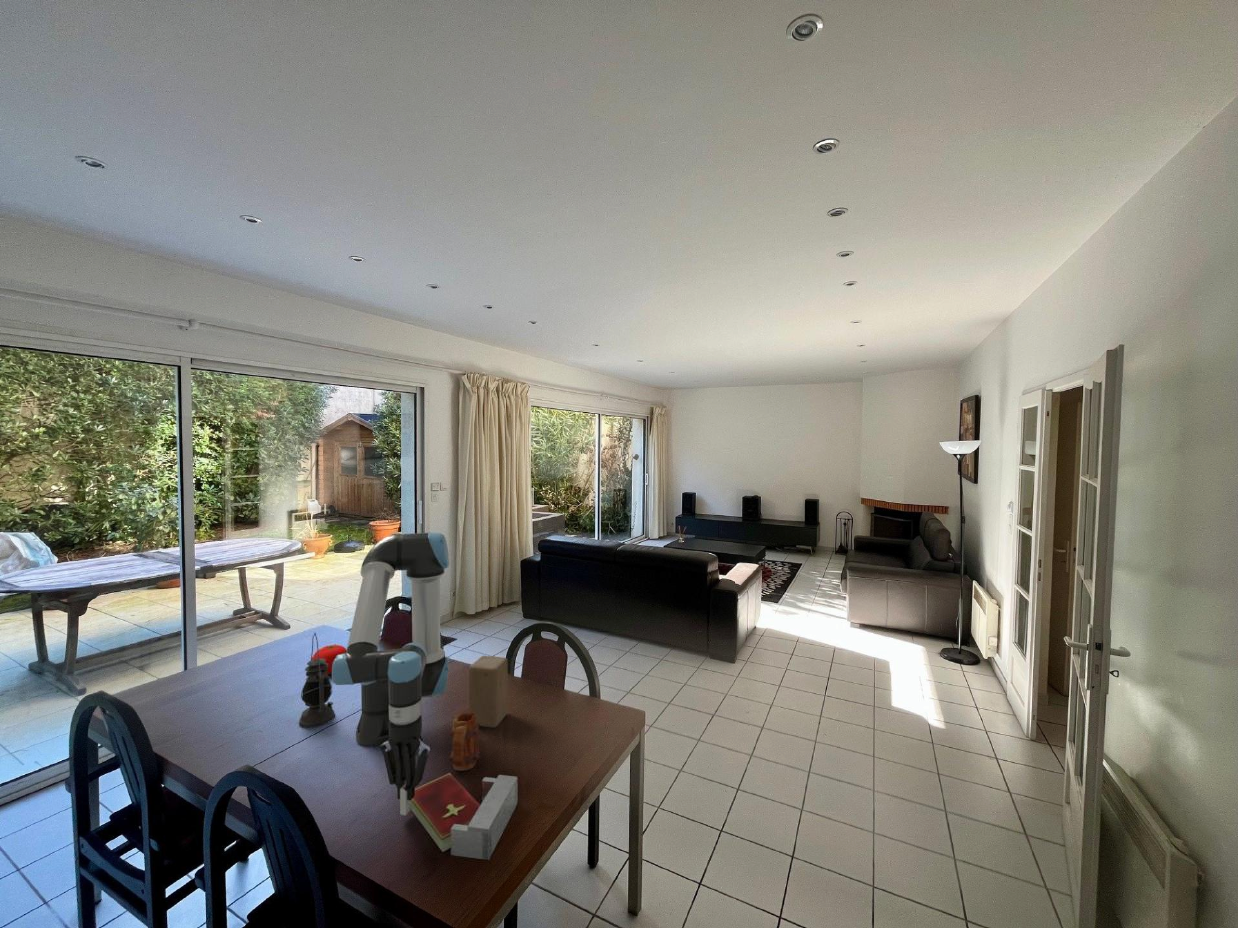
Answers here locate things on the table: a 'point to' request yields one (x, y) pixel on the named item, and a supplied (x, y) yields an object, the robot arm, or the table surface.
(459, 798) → the hardcover book
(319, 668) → the lantern
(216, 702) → the table surface
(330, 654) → the tomato
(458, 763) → the mug
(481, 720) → the wooden block
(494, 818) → the end cap
